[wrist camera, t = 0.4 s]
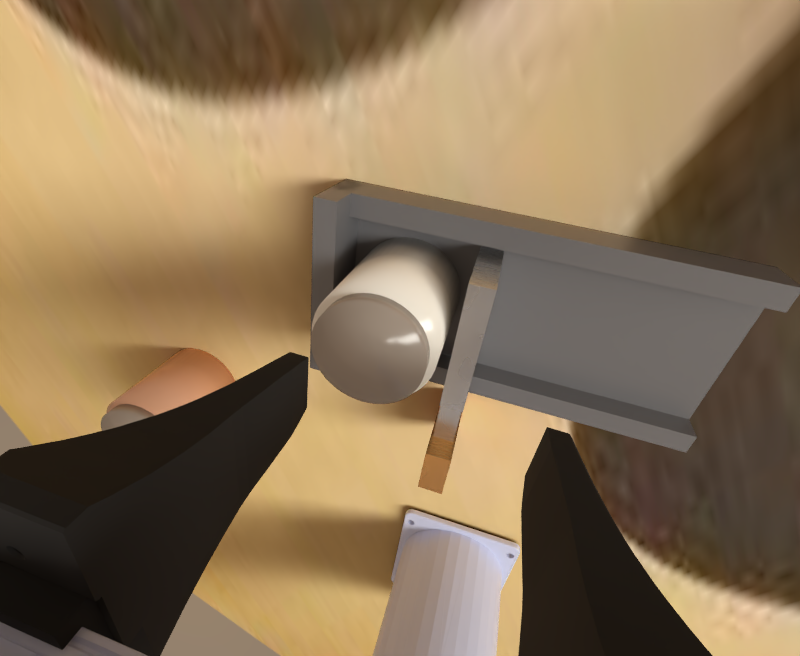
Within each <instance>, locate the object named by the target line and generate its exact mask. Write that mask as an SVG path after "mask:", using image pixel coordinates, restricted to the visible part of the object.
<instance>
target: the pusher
mask: <svg viewBox="0 0 800 656" xmlns="http://www.w3.org/2000/svg"><path fill="white" fill-rule="evenodd" d="M503 255H504V251H501V250H496V249H492V248H487V247H483V246H481V248H480V251H479V254H478V257H477V260H476V263H475V266H474V269H473V272H472V275H471V278H470V281H469V284H468V288H467V293H466V297H465V301H464V305H463V309H462V313H461V318H460V322H459V326H458V330H457V334H456V338H455V343H454V347H453V351H452V355H451V359H450V364H449V368H448V372H447V376H446V380H445V384H444V389H443V393H442V397H441V401H440V405H439V406H440V407H439V411H438V414H437V417H436V421H435V424H434V427H433V431H432V434H431V438H430V441H429V444H428V448H427V451H426V455H425V459H424V463H423V468H422V472H421V476H420V480H419V485H418V487H422V488H425V489H428V490H431V491H434V492H437V493H440V494H442V491H443V487H444V484H445V480H446V477H447V473H448V470H449V466H450V463H451V459H452V454H453V450H454V445H455V441H456V436H457V432H458V427H459V423H460V418H461V414H462V412H463V409H464V405H465V402H466V398H467V394H468V391H469V387H470V384H471V380H472V377H473V373H474V370H475V366H476V363H477V359H478V355H479V352H480V348H481V345H482V341H483V338H484V334H485V331H486V327H487V324H488V320H489V316H490V313H491V309H492V306H493V302H494V299H495V295H496V292H497V287H498V282H499V276H500V271H501V266H502V260H503Z"/></svg>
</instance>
